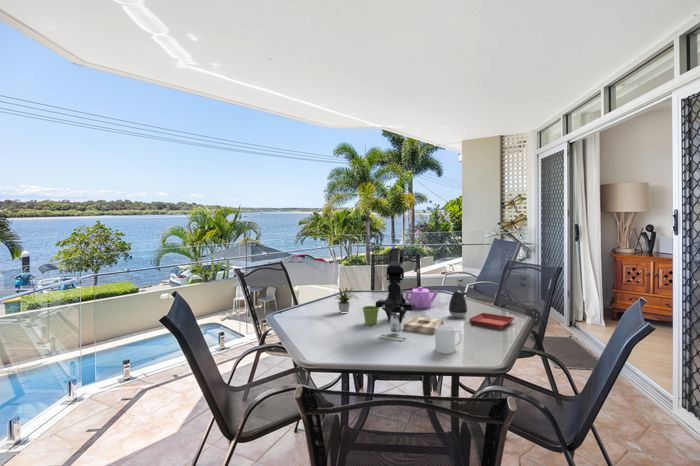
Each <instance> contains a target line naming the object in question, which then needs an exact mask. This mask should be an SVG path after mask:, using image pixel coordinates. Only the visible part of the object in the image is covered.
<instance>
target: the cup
mask: <svg viewBox="0 0 700 466" xmlns="http://www.w3.org/2000/svg"><path fill="white" fill-rule="evenodd" d="M456 333H458V341H457V342H456ZM462 338H463V337H462V332H461V330H460V329H458V328H456V327H454V326H453V325H450V324H444V325H438V326H436V327H435V334H434V342H435V343H434V344H435V345H434V346H435V351H436V352H437V353H439V354H443V355H452V354H454V353H455V352H456V347H457V346H460V344H461V343H462Z"/></svg>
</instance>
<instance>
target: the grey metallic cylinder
mask: <svg viewBox="0 0 700 466" xmlns="http://www.w3.org/2000/svg"><path fill="white" fill-rule="evenodd" d="M401 324H402V323H400V313H398V312H392V313H391V314H390V322H389V327H390V329H389V330H390V332H391V333H401V330H402V328H401V327H402V326H401Z"/></svg>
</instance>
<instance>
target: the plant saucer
mask: <svg viewBox="0 0 700 466" xmlns="http://www.w3.org/2000/svg"><path fill="white" fill-rule="evenodd" d="M514 320H515V317H514V316H506V315H501V314H495V313H494V314H493V313H487V312H481V313H479V314H477V315H475V316H472V317H470V318H468V321H469V322H470V323H471V324H473V325H475V326H480V327H487V328H491V329H497V330H502V329H503V328H505V327H506V326H508V325H510V324H511V323H512V322H513V321H514Z"/></svg>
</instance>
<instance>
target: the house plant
mask: <svg viewBox="0 0 700 466" xmlns="http://www.w3.org/2000/svg"><path fill="white" fill-rule="evenodd" d="M341 287H342V289H341V288H340V287H338V295H339V296H338V295H335V298H334V299H335V300H338V302H337V304H338V305H337V306H338V310H339V312H340V311H341V312H348V313H349V311H350V304H351V303H350V301H351V299H352V298H353V294H351V293H353V292H354V291H355V289H354V287H351V288H350V289H349V290H348V287H345V289H344V287H343V286H341ZM333 291H334V292H336V290H335V289H333ZM350 294H351V295H350Z"/></svg>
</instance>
